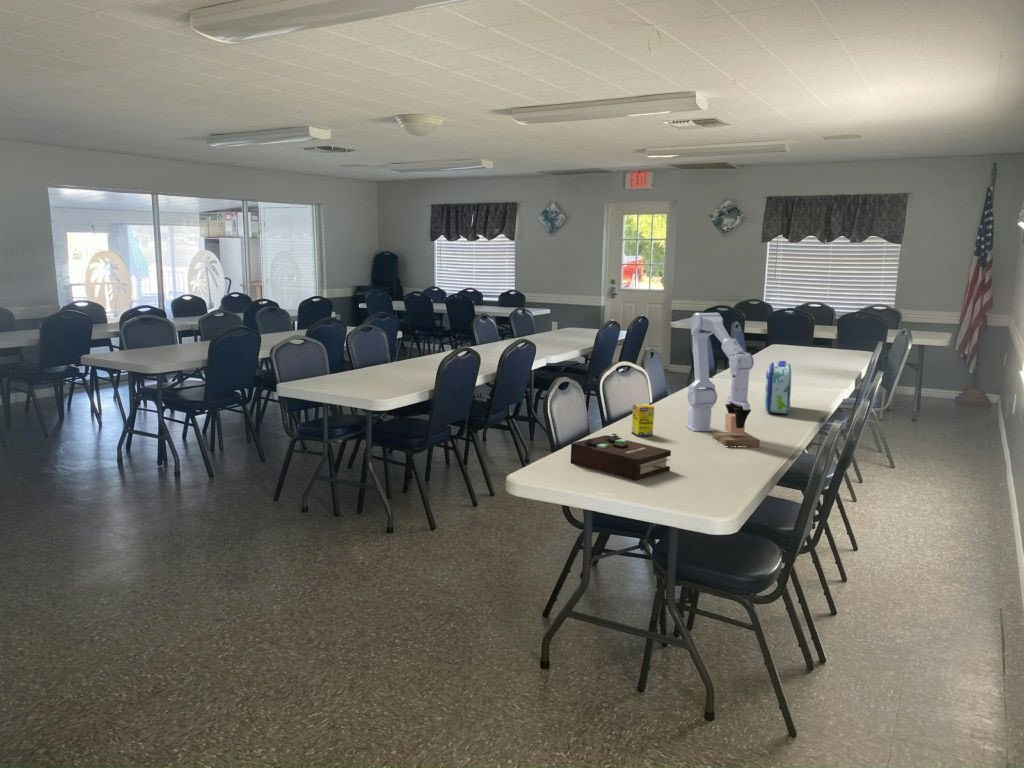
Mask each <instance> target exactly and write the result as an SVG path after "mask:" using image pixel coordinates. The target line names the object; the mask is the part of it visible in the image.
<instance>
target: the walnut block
mask: <svg viewBox="0 0 1024 768" xmlns="http://www.w3.org/2000/svg"><path fill="white" fill-rule="evenodd" d="M713 439H715V440H717V441H718V442H720V443H721V444H723V445H724V446H728V447H727V448H739V447H738V446H742V447H741V448H744V447H743V446H746V447H745V448H760V439H759V438H757V437H755V436H754V435H752V434H750V433H748V432H746V431H745V432H744V433H729V432H728V431H720V432H718V431H716V432H714V431H712V440H713ZM715 440H714V441H715ZM718 442H717V443H718ZM720 443H719V444H720ZM721 444H720V445H721ZM723 445H722V446H723ZM724 446H723V447H724ZM731 446H732V447H731ZM734 446H736V447H734Z"/></svg>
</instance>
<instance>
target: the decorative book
mask: <svg viewBox="0 0 1024 768" xmlns="http://www.w3.org/2000/svg"><path fill="white" fill-rule="evenodd" d="M610 434H611V435H609V434H607V435H605V434H603V435H600V436H596V437H592V438H588V439H584V440H579V441H575V442H571V444H570V446H571V447H570V464H572V465H577V466H580V467H583V468H588V469H591V470H595V471H598V470H599V472H601V471H602V473H605V472H606V473H605V474H609V473H610V474H609V475H612V474H613V476H616V475H617V477H619V476H621V477H620V478H623V477H624V479H628V480H630V479H631V480H630V481H634V480H635V482H638V481H637V480H639V481H641V480H640V479H642V480H644V478H645V479H648V478H651V477H654V476H658V475H660V474H663V473H666V472H669V471H670V469H671V467H670V466H669V465H667V461H670V460H671V458H669V457H671V455H672V454H671V453H672V450H671V449H665V448H662V447H658V446H654V445H649V444H644V443H640V442H637V441H632V440H628V439H623V438H622V437H620V436H619V435H618V433H610ZM657 474H658V475H657ZM653 475H654V476H653ZM647 477H648V478H647Z"/></svg>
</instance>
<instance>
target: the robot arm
mask: <svg viewBox="0 0 1024 768" xmlns="http://www.w3.org/2000/svg"><path fill="white" fill-rule="evenodd" d="M723 323H724V318H723V317H722V316H721V314H720V313H719V312H718V311H717V312H695V313H694V314H692V316H691V318H690V331H691V333H690V334H691V335H692V349H693V352H692V353H693V368H694V369H693V370H694V372H693V373H694V381H693V382H692V383H690V384H689V385H688V393H687V402H688V403H689V405H690V407H689V409H688V419H687V424H685V427H686V428H688V429H689V430H691V431H692V432H714V431H715V430H714V429H713V428H712V427H711V422H712V408H714V405H715V404H717V401H718V394H717V391H716V385H715V384H714V383H713V382H712V381H711V380H710V370H709V369H710V367H709V366H710V365H709V351H708V349H709V348H708V347H709V345H708V338H709V337H710V336H711V335H714V336H715V337H716V339H718V341H720V343H721V350H722V351H723V353H724V354H725V356H726V357H727V358H728V364H729V368H730V369H729V370H730V375H731V382H730V392H729V393H730V395H729V396H727V399H726V402H727V403H726V404H725V405H724V406H725V407H726V411H727V412H728V413H735V415H736V426H737V428H743V427H744V424H746V421H747V418H748V416H749V414H750V413H751V411H752V409H751V408H750V407H751V404H750V403H749V401H748V395H749V393H748V391H749V381H750V380H749V379H750V377H749V376H750V371H751V370H752V369H753V367H754V365H755V359H754V357H753V355H752V354H751V353H750V352H747V351H745V350H744V349H743V348H742V346H741V345H740V344H739V342H738V340H737V339H735V338H734V337H730V335H729V333H728V331H727V329H726V328H725V326H724V324H723Z"/></svg>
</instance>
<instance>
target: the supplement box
mask: <svg viewBox="0 0 1024 768" xmlns="http://www.w3.org/2000/svg"><path fill="white" fill-rule="evenodd" d="M654 417H655V407H654V406H653V405H651V404H649V403H646V404H645V403H641V404H635V403H633V404H632V417H631V434H633V435H634V436H636V437H637V438H638V437H639V438H640V436H641V437H653V435H654V434H653V433H654V431H653V430H654Z"/></svg>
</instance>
